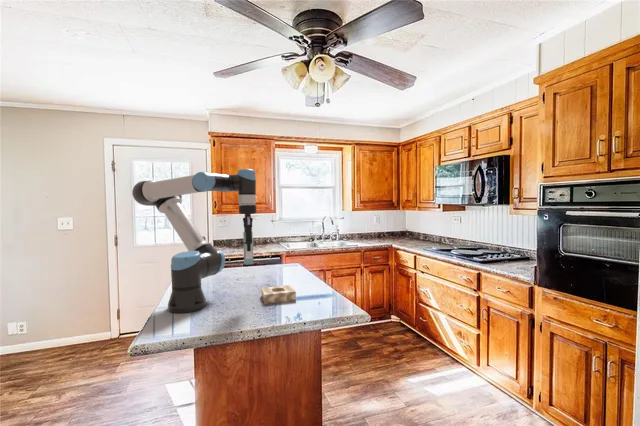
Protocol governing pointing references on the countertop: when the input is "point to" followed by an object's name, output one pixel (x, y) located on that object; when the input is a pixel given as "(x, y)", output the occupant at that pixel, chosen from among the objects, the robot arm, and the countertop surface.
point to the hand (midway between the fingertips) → (248, 257)
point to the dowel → (246, 261)
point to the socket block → (278, 294)
